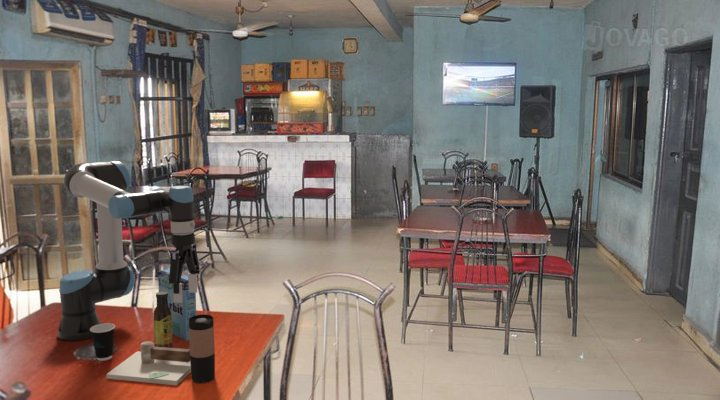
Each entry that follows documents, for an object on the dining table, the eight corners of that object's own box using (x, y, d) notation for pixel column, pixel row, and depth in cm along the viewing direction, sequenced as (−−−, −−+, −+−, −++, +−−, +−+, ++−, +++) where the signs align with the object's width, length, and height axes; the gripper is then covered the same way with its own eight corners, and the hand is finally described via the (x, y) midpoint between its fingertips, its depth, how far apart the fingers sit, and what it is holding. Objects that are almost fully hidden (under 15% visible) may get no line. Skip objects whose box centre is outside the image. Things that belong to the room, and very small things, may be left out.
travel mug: (193, 373, 192) (191, 314, 189) (217, 372, 192) (215, 313, 189) (188, 384, 184) (186, 323, 181) (213, 383, 185) (211, 322, 182)
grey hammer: (139, 362, 195) (138, 345, 194) (145, 357, 199) (144, 340, 198) (187, 367, 192) (186, 349, 191) (192, 361, 196) (191, 344, 195)
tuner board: (105, 379, 187) (105, 374, 187) (137, 355, 205) (137, 350, 205) (176, 386, 183) (175, 380, 183) (202, 361, 201) (202, 356, 201)
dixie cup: (116, 351, 208) (114, 321, 207) (117, 360, 201) (115, 329, 200) (91, 355, 205) (89, 325, 203) (92, 364, 198) (90, 333, 196)
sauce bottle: (167, 350, 209) (164, 296, 206) (151, 349, 211) (148, 295, 207) (176, 343, 216) (174, 291, 213) (160, 342, 217) (158, 289, 214)
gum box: (159, 327, 231) (156, 271, 227) (171, 324, 234) (169, 268, 231) (186, 341, 218) (183, 281, 214) (198, 337, 221) (195, 278, 218)
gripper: (177, 240, 184) (180, 308, 188) (208, 226, 206) (210, 287, 210) (154, 239, 186) (158, 307, 189) (188, 225, 208) (190, 286, 211)
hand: (185, 297), depth 200 cm, fingers open, 10 cm apart
